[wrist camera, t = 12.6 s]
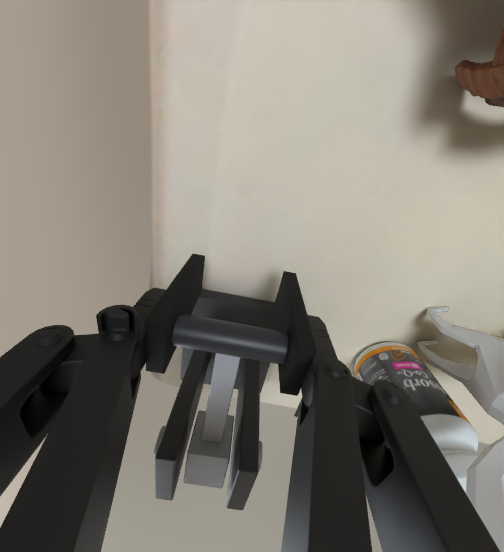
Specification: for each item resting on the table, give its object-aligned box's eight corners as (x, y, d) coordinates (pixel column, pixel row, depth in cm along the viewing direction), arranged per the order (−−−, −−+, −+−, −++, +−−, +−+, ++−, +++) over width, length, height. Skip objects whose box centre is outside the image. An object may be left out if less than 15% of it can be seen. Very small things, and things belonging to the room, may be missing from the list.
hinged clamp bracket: (190, 286, 19) (117, 417, 9) (285, 304, 19) (306, 446, 10) (184, 369, 24) (129, 515, 14) (260, 382, 24) (259, 532, 14)
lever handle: (185, 301, 11) (167, 332, 9) (286, 320, 11) (292, 354, 9) (172, 435, 15) (158, 479, 13) (248, 447, 15) (246, 492, 13)
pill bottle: (427, 347, 21) (548, 485, 12) (393, 387, 23) (473, 526, 15) (369, 332, 20) (451, 465, 12) (341, 375, 23) (390, 511, 14)
